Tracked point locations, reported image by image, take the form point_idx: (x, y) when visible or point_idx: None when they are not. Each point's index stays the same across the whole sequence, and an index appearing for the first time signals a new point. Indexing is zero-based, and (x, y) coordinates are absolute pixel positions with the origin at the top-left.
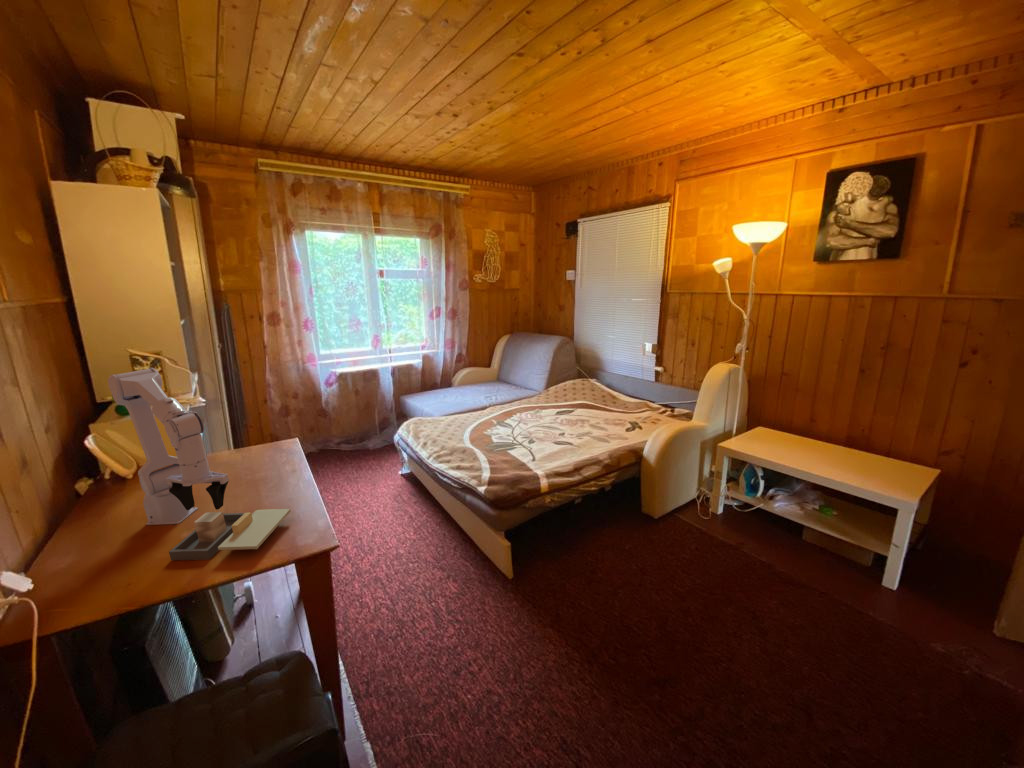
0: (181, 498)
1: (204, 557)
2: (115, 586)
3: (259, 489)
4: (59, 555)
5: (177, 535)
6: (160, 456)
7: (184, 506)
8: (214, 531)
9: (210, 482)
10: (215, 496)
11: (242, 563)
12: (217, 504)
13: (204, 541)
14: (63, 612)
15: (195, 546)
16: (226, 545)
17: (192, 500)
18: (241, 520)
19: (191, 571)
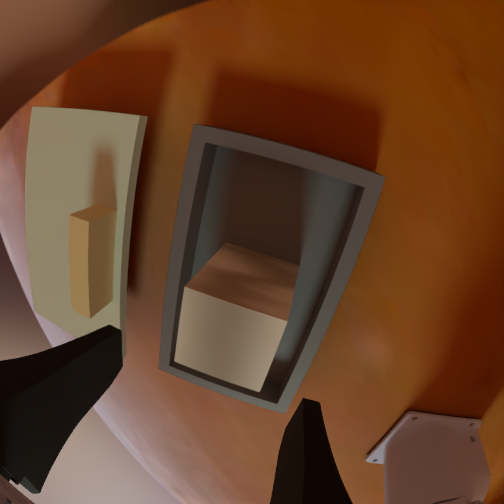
0: (311, 486)
1: (227, 129)
2: (499, 87)
3: (224, 474)
4: None
5: (403, 353)
6: None
7: (319, 424)
8: (207, 264)
9: (4, 483)
10: (14, 360)
11: (100, 87)
12: (79, 339)
13: (275, 258)
14: None
15: (304, 236)
16: (111, 123)
17: (281, 461)
18: (72, 254)
19: (256, 67)
